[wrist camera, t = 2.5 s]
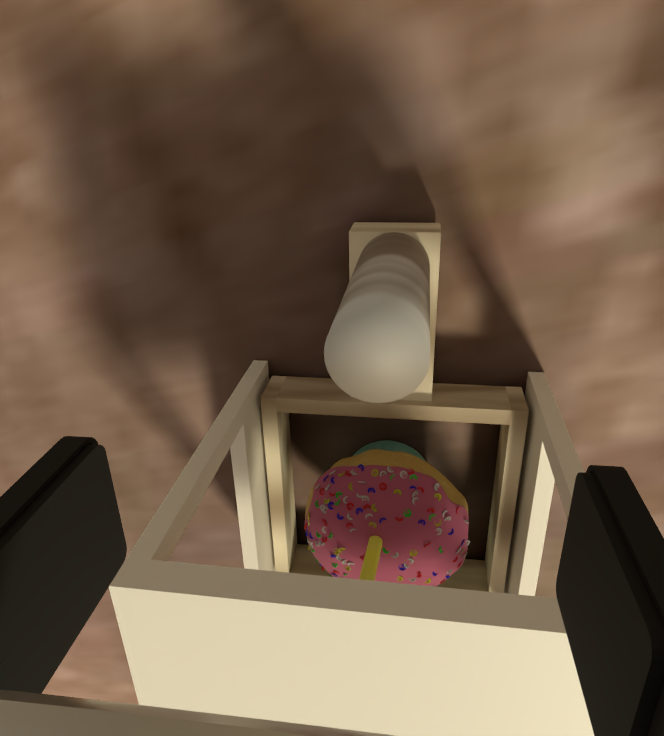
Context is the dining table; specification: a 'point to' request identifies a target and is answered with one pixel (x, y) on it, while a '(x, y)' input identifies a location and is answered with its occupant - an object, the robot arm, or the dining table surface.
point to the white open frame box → (349, 612)
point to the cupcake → (387, 518)
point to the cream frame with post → (392, 388)
